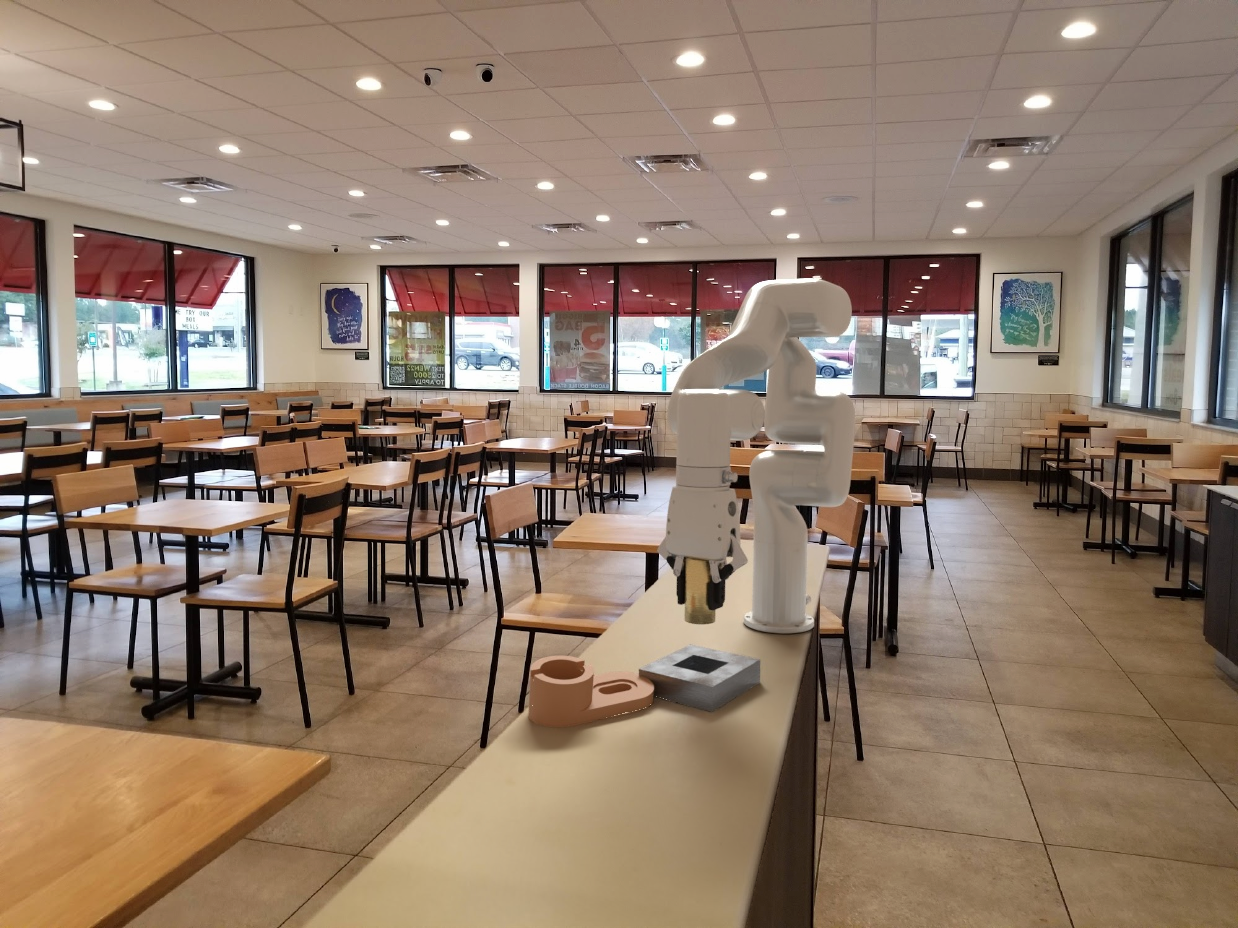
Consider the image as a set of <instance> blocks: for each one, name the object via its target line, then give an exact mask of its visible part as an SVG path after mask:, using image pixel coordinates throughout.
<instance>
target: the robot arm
mask: <svg viewBox="0 0 1238 928" xmlns="http://www.w3.org/2000/svg"><path fill="white" fill-rule="evenodd" d="M852 310H853V308H852V302H851V299H850V296H849V294H848V292H847V291H846V290H845V289H844V287H843V288H842V287H841V286H839V285H837V284H835V283H832V282H830V281H826V280H824V279H818V278H793V279H792V278H790V279H774V280H773V279H772V280H765V281H760V282H758V283H756V284H754V285H753V286H752V287H750V289H749V290H748V291H747V293H746V295H745V297H744V299H743V300H742V303H741V306H740V307H739V310H738V312H737V314H736V317H735V319H734V320H733V324H732V325H731V328H730V330H729V333H728V335H727V337H726V338H724V339H723V340H720V341H719V342H717V343H716V344H714V345H712V346H711V347H709V348H708V349H706V350H705V351H704V352H702V353H701V354H699V355H698V356H696V357H694V359H693V360H691V361H690V362H689V363H688V364H686V366H685V368H683V370H682V371H681V373H680V375H679V377H678V379H677V381H676V384H675V386H674V388H673V389H672V392H671V395H670V397H669V401H668V405H667V409H666V410H667V414H666V416H667V417H666V418H667V422H668V426H669V428H670V430H671V432H672V433H673V434H675V435H676V463H675V465H676V466H675V470H676V471H675V485H674V486H672V489H671V491H670V492H671V493H670V495H669V502H668V508H667V514H666V523H665V525H666V526H665V537H664V538H663V540H662V541H661V543H660V544H659V545H658V547H657V550H656V551H657V553H658V554H659V555H660V556H661V558H663V559H664V560H666V563H667V564H668V566H669V567H670V568H671V570H672V573H673V575H674V577H675V578H676V593H675V594H676V597H677V604H678V605H681V606H682V605H685V561H686V557H689V558H696V559H703V560H709V563H710V569H711V574H712V582H709V588H708V609H709V610H718V609H721V608H723V607H724V603H725V600H726V581H727V580H728V579H729V578H730V577H731V576H732V575H733V573H735V572H737V570H739V569H740V568H742V567H743V566H745V565H746V564H747V563H748V562H749V559H748V557H747V555H746V554H745V552H744V551H743V549H742V547H741V523H740V522H741V521H740V511H739V509H740V508H739V504H738V499H737V493H736V492H737V491H736V489H735V488H730V486H731V485H732V484H731V483H736V482H737V481H738V477H739V476H738V473H737V472H733V471H732V469H731V468H732V467H731V441H735V442H736V441H739V442H740V441H747V440H750V439H752V438H754V437H756V435H758V434H759V432H760V431H761V430H762V428H763V427H764V433H765V435H766V437H767V438H768V439H770V440H771V441H773V442H777V443H782V444H793V445H811V446H812V445H815V446H816V445H819V446H822V447H824V451H805V450H791V449H790V450H789V449H770V450H765V451H762V452H761V453H760V452H759V454H757V455H756V456H754V458H753V459H752V461H751V464H750V465H749V473H748V474H749V475H748V476H749V478H748V479H749V485H750V491H751V498H752V506H753V546H752V547H753V548H752V549H753V551H752V552H753V553H752V557H753V558H752V599H751V600H752V609H751V610H750V611H748V612H746V613H745V614H743V624H744V625H745V626H746V627H748V628H749V629H752V630H756V631H759V632H765V633H770V634H771V633H772V634H798V633H804V632H807V631H810V630H812V629H813V628H814V627H815V619H814V617H812V616H811V615H810V614H808V613H806V611H807V610H806V609H807V605H809V604H811V602H812V597H811V595H809V594H807V580H808V579H807V575H808V572H807V570H808V569H807V568H808V539H809V538H808V537H809V536H808V534H809V532H808V526H807V524H806V521H805V520H804V517H803V515H802V514H801V513H800V511H799V509H797V507H796V506H807V507H808V506H811V507H824V508H835V507H839V506H841V505H843V504H844V503H845V502H846V501H847V499H848V496H849V493H850V487H851V481H852V480H851V478H852V469H853V467H852V466H853V458H854V457H853V454H854V445H855V444H854V443H855V433H856V411H855V406H854V402H853V401H852V399H851V397H850V396H849V395H847V394H846V393H844V392H841V391H834V390H833V391H832V390H816V381H817V370H818V367H817V363H816V360H815V358H814V357H813V355H812V354H811V352H810V351H809V350H808V347H806V346H805V344H804V343H803V342H802V341H801V340H800V339H799V338H833V337H834V338H835V337H840V336H842V335H844V334H845V333H846V331H847V330H848V328H849V326H850V325H851V320H852V314H853V312H852ZM766 371H768V373H767V375H768V376H767V385H766V386H767V387H766V395H765V406H764V403H763V401H762V399H761V398H760V396H758V395H757V394H756V393H755V392H753V391H750V390H747V389H739V388H737V389H735V388H726V389H725V388H722V387H725V386H727V385H730V384H734V383H738V382H740V381H741V382H742V381H743V380H747V379H749V378H753V377H756V376H758V375H761V374H763V373H764V372H766ZM727 558H732V560H731V561H730V562H729V563H728V561H727Z"/></svg>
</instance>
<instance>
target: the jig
mask: <svg viewBox="0 0 1238 928" xmlns="http://www.w3.org/2000/svg"><path fill="white" fill-rule="evenodd" d="M638 674H639V676H642V677H644V678H647V679H649V680H650V681H651V682H652V683H653V685H654V694H653V696H657V697H661V698H664V699H667V700H666V701H668V700H670V701H669V702H672V701H674V702H673V703H676V702H678V703H677V704H679V703H680V705H683V704H685V705H684V706H687V705H688V706H687V707H691V706H692V708H695V707H696V708H695V709H698V710H702V711H707V712H710V713H713V712H715V711H716V710H718V709H720V708H721V707H723V706H724V704H725V705H727V704H728V703H729V702H731V701H733V700H734V699H736V698H737V697H739V696H740V694H741V695H742V694H744V693H746V692H747V691H748V690H750V689H752V688H753V687H755V686H757V685H759V684H760V683H761V659H760V658H756V657H750V656H747V655H743V654H736V653H733V652H727V651H723V650H718V649H714V648H708V647H704V646H699V645H694V644H688V645H686V646H684V647H682V648H680V649H678V650H676V651H674V652H670V653H669V654H667V655H664V656H663V657H661V658H659V659H657V660H655V661H652V662H651V663H649V664H647V665H644V666H642V667H640V668H638ZM657 697H656V698H657ZM735 697H736V698H735ZM664 699H663V700H664ZM732 699H733V700H732ZM727 702H728V703H727ZM719 707H720V708H719Z"/></svg>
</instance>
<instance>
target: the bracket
mask: <svg viewBox="0 0 1238 928" xmlns="http://www.w3.org/2000/svg"><path fill="white" fill-rule="evenodd" d="M594 673H595V670H594V666H593V665H592V664H586V665H585V660H584V659H582V658H579V657H576V656H571V655H550V656H545V657H542V658H539V659H537V660H535V661H534V662H533V663H532V664H531V666H530V675H529V677H530V678H529V696H528V697H529V700H528V714H529V716H528V718H529V720H530V721H532V722H533V723H535V724H536V723H537V725H539V726H544V727H550V728H566V727H572V726H579V725H581V724H582V723H583V724H586V723H591V722H595V720H596V721H599V720H598V719H601V720H604V719H603V718H605V719H607V718H606V717H610V718H612V717H611V716H614V715H618V714H622V713H625V712H632V711H635V710H639V709H643V708H645V707H648V706H650V704H652V705H653V703H654V697H653V694H654V685H653V683H652V682H651V681H650V680H649V679H647V678H644V677H642V676H639V673H634V672H630V671H610V672H604V673H599V674H595V675H594ZM652 702H653V703H652ZM532 705H533V706H532ZM650 707H651V706H650ZM648 708H649V707H648ZM632 713H633V712H632ZM614 717H615V716H614Z"/></svg>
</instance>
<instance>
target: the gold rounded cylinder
mask: <svg viewBox="0 0 1238 928" xmlns="http://www.w3.org/2000/svg"><path fill="white" fill-rule="evenodd" d="M709 582H712V574H711V569H710V563H709V560H703V559H696V558H689V557H686V561H685V604H684V619H683V620H684V622H686V623H688V624H692V625H710V624H713V623H714V624H715V622H716V610H717V609H716V610H709V609H708V588H709Z"/></svg>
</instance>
